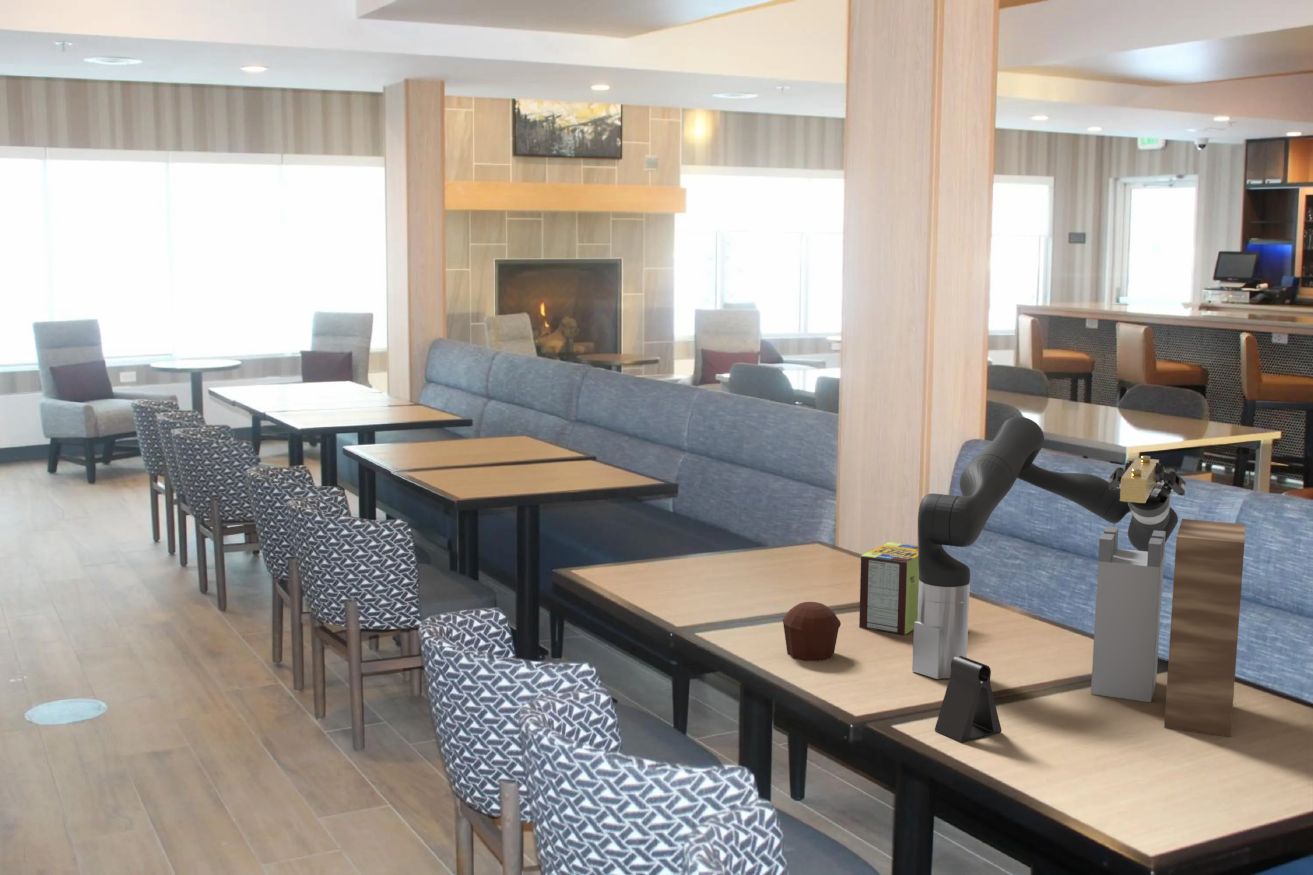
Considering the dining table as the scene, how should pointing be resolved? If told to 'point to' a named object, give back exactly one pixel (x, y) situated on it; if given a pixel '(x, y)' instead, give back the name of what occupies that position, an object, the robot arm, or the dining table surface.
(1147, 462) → the gold studded block
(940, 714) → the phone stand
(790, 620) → the muffin
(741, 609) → the dining table surface
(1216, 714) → the stand
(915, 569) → the protein box
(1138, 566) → the post
